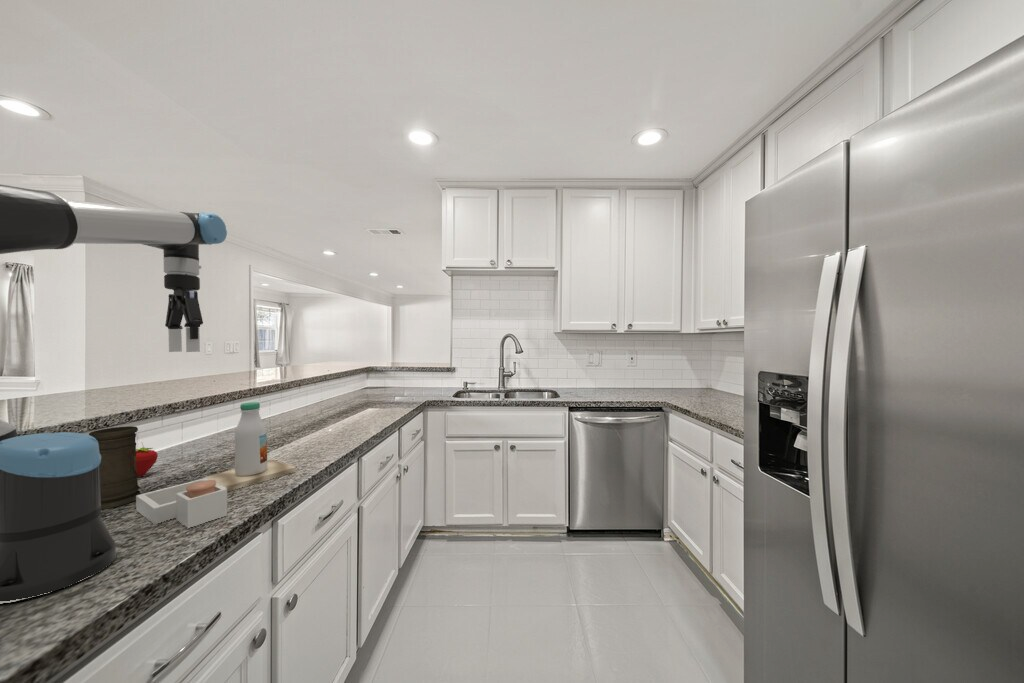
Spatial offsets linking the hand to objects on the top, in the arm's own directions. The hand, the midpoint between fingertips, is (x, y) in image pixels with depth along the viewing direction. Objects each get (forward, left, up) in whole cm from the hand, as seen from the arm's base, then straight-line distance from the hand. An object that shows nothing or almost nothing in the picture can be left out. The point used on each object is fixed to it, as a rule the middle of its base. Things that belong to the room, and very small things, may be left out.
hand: (183, 351), depth 107 cm
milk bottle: (+12, -10, -35) cm, 39 cm away
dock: (-6, -22, -37) cm, 43 cm away
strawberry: (-5, +20, -37) cm, 42 cm away
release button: (-6, -30, -35) cm, 46 cm away
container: (-14, 0, -37) cm, 39 cm away
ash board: (+12, -10, -37) cm, 40 cm away
